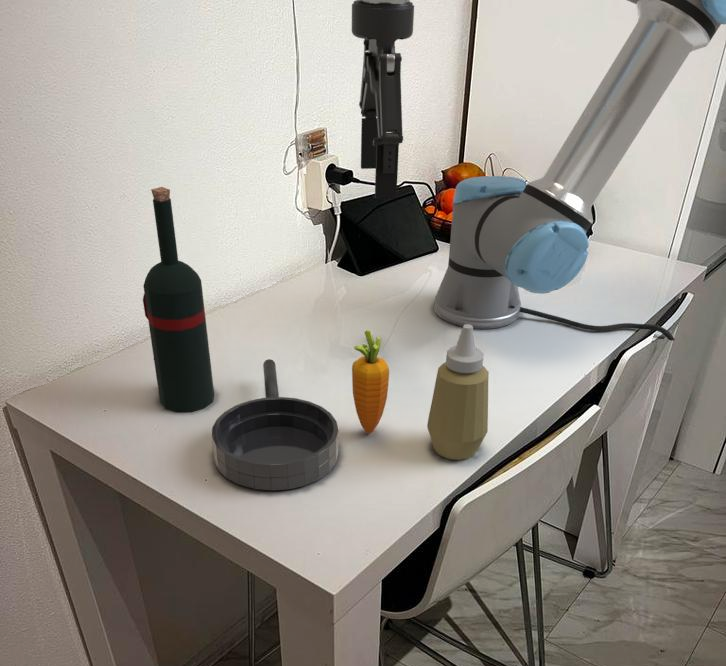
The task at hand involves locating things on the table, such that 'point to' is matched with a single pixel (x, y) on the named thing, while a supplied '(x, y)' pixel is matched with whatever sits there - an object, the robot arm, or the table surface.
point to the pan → (275, 443)
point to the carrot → (370, 384)
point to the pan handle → (270, 379)
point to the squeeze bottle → (460, 401)
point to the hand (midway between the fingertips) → (377, 182)
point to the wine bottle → (177, 321)
